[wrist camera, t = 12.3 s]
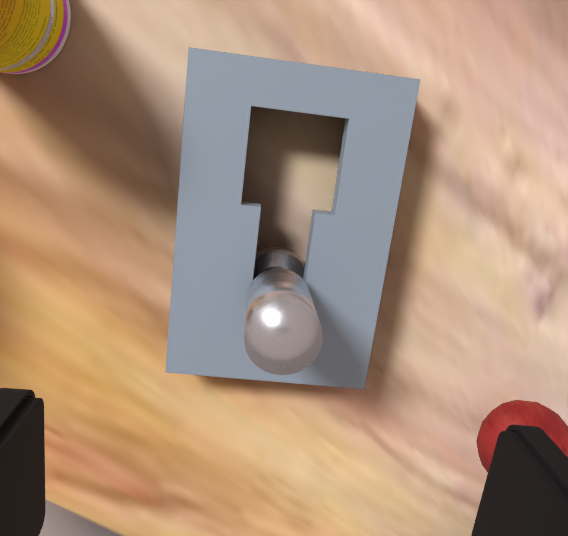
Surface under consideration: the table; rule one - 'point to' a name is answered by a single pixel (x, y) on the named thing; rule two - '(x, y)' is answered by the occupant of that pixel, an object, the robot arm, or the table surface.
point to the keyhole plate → (245, 216)
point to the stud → (280, 314)
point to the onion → (519, 415)
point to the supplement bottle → (32, 33)
